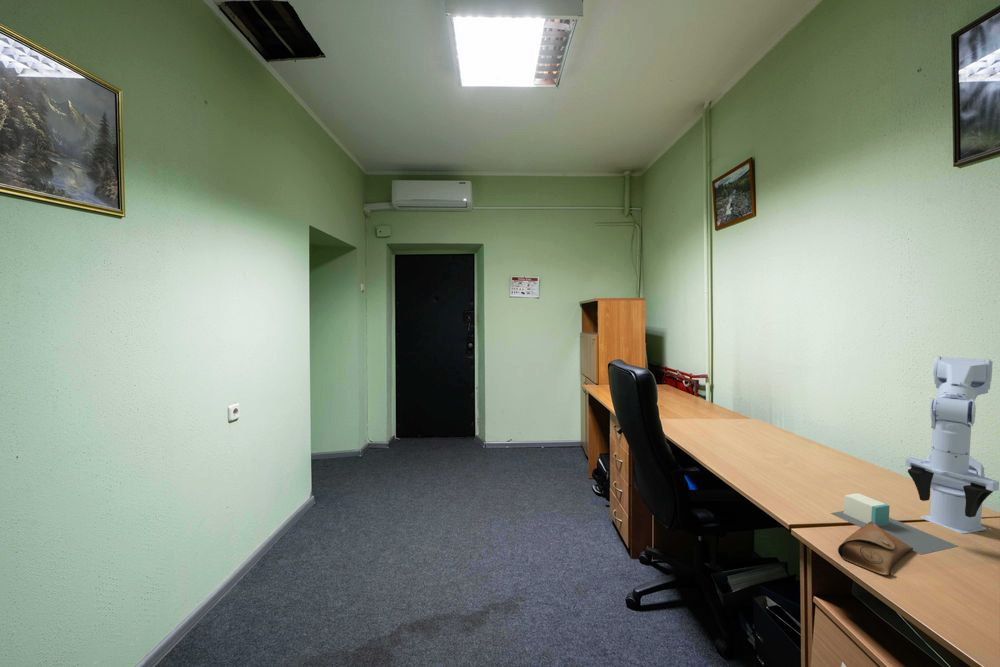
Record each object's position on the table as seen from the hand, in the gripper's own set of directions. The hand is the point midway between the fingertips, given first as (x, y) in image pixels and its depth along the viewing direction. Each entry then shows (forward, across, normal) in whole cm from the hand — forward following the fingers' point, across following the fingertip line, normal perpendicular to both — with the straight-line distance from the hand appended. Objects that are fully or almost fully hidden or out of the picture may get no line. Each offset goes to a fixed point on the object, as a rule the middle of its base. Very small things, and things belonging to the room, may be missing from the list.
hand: (946, 507), depth 88 cm
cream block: (+6, -10, -4) cm, 12 cm away
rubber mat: (+9, -8, -4) cm, 13 cm away
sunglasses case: (+9, -2, -19) cm, 21 cm away
